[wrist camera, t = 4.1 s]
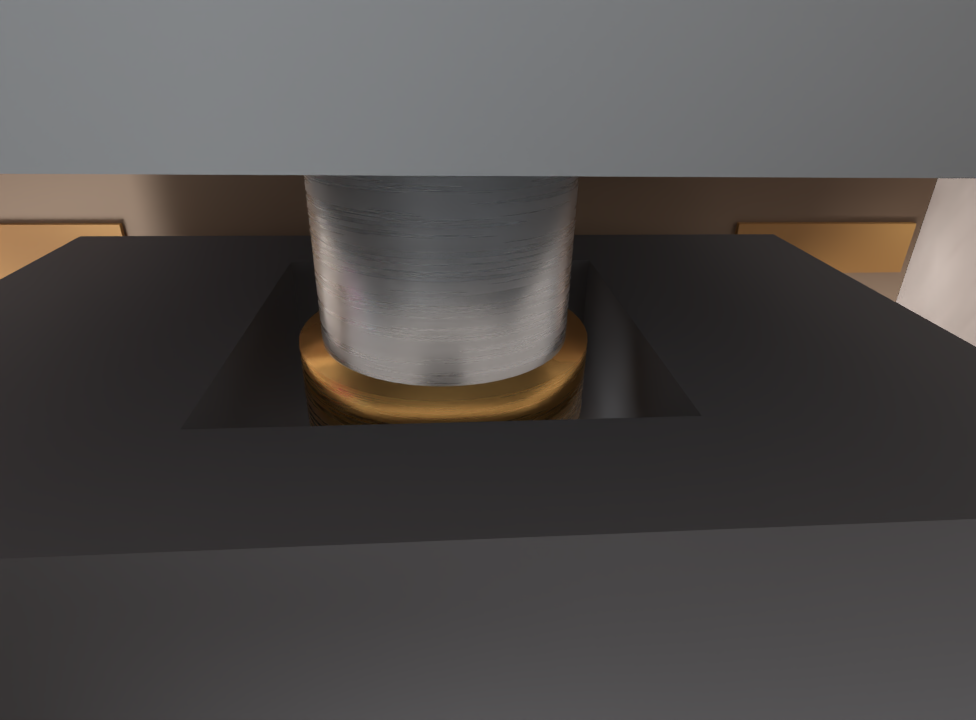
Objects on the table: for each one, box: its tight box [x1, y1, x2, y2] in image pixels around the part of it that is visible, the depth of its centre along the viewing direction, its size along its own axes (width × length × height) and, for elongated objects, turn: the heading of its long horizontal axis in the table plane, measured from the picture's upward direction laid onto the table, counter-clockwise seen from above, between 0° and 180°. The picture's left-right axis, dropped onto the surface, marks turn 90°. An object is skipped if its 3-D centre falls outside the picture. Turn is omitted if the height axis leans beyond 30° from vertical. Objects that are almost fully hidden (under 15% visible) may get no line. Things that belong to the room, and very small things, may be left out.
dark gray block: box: [0, 234, 976, 720], centre depth 8 cm, size 3×12×7 cm, turn 89°
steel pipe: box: [299, 175, 588, 426], centre depth 9 cm, size 18×3×3 cm, turn 179°
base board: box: [0, 174, 938, 302], centre depth 14 cm, size 21×19×1 cm
